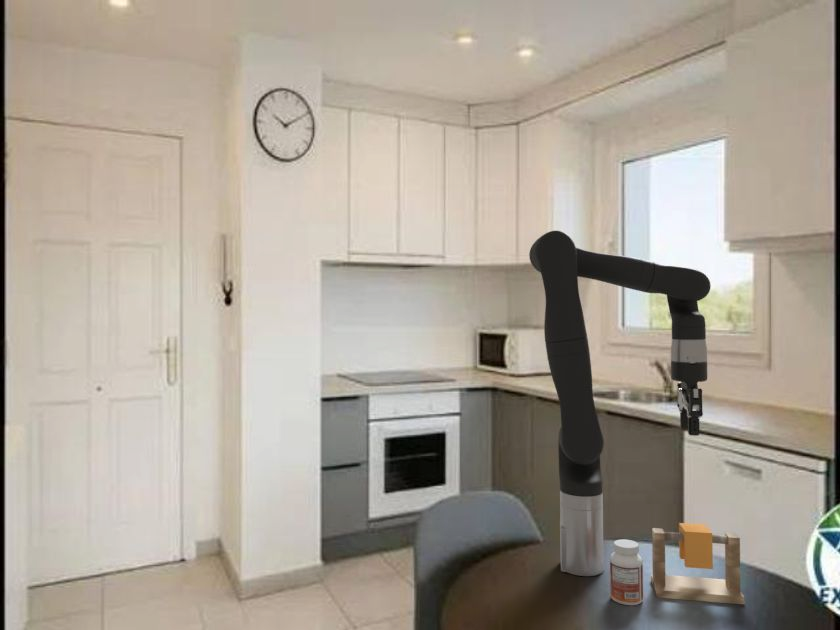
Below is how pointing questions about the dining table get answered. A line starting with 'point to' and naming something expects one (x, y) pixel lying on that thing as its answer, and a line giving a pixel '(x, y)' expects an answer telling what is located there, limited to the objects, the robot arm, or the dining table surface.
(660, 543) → the rack
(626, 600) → the pill bottle
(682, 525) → the notched orange block
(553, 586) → the dining table surface
